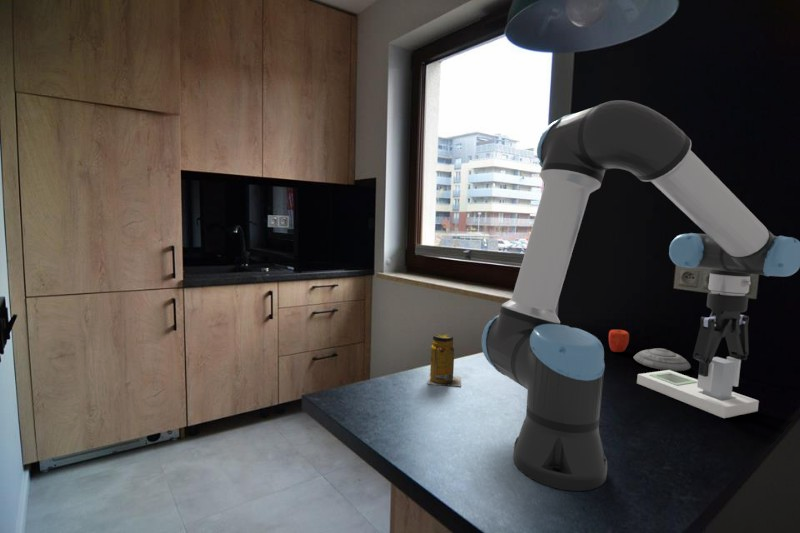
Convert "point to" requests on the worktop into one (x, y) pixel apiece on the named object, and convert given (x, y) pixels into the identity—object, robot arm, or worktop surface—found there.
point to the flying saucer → (662, 360)
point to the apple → (618, 340)
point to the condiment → (443, 361)
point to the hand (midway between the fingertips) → (717, 386)
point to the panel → (696, 394)
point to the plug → (721, 379)
